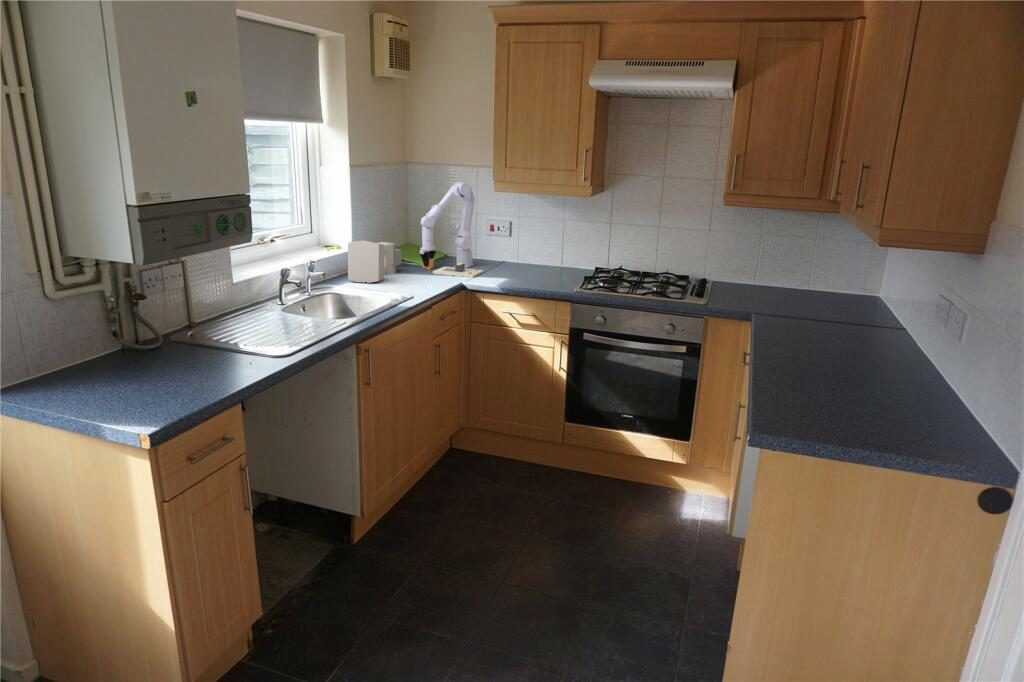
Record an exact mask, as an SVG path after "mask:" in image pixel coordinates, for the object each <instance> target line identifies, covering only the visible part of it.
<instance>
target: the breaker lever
mask: <svg viewBox="0 0 1024 682" xmlns="http://www.w3.org/2000/svg"><path fill="white" fill-rule="evenodd" d="M454 265H455V266H454V267H455V271H463V270H465V269H466V268H465V264H463V263H458V264H457V263H456V264H454Z"/></svg>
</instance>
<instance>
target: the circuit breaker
mask: <svg viewBox="0 0 1024 682" xmlns="http://www.w3.org/2000/svg"><path fill="white" fill-rule="evenodd" d="M379 243H382V244H384V276H387V275H386V274H390V275H392V274H391V273H394V274H396V273H397V269H396V268H397V266H400V265H402V264H403V263H402V261H403V259H402V256H403V253H402V249H398V248H396V243H395V242H387V241H381V242H379Z"/></svg>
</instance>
